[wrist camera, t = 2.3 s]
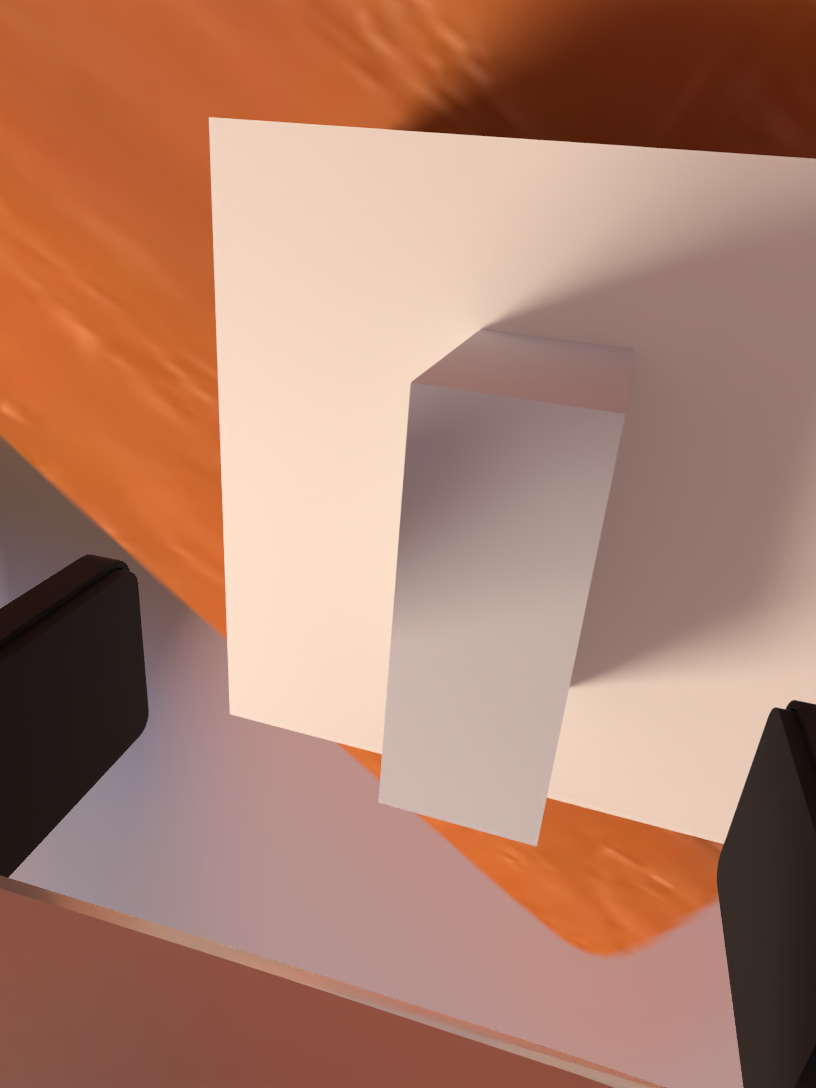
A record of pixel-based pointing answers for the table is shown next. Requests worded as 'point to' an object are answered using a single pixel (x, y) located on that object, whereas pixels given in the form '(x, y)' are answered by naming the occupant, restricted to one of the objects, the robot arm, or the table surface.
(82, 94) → the table surface
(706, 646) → the lid
